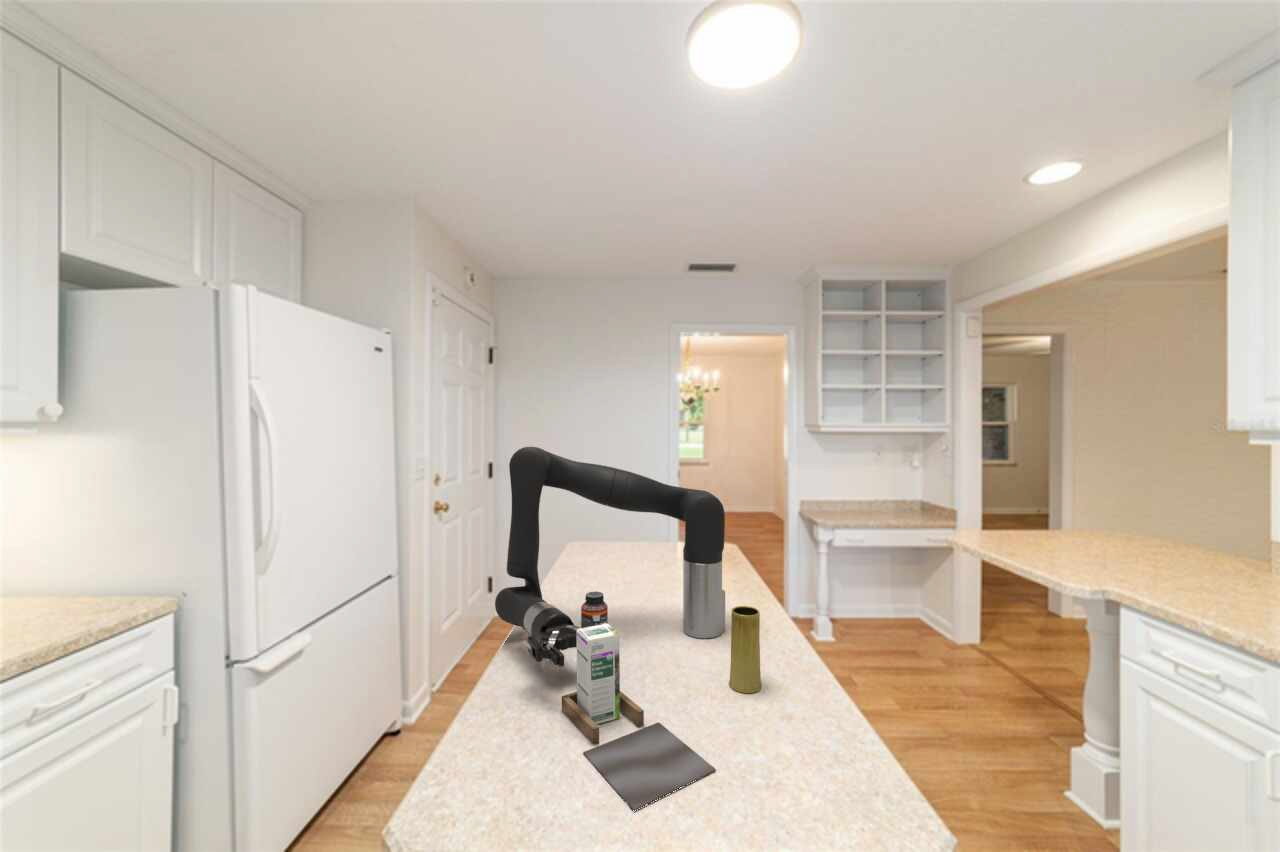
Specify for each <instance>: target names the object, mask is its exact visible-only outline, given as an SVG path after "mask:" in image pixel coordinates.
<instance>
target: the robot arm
mask: <svg viewBox="0 0 1280 852" xmlns="http://www.w3.org/2000/svg"><path fill="white" fill-rule="evenodd" d="M509 460H510V461H509V464H508V467H509V469H508V470H509V478H510V489H511V490H510V492H511V515H510V516H511V517H510V527H509V535H508V536H509V537H508V538H509V539H508V548H507V559H506V561H507V562H506V573H507V575H508V576H510V577H512V578H515V579H521V580H522V579H523V580H524V582H525V584H524V585H521V586H510V587H505V588H502V589H501V590H500V591H499V592H498V593H497V595H496V597H495V601H494V608H495V611H496V614H497V616H498V617H499V618H500V619H501V620H502V621H504V622H506V623H508V624H510V625H514V626H517V627H520V628H522V629H523V630H525V632H526V633H527V635H528V637H527V640H526V641H527V642H526V643H527V645H526V646H527V647H526V648H527V649H526V651H527V653H529V655H530V656H531V657H532V659H533V660H534V661H535V662H537V663H541V662H543V660H544V659H545V660H546V661H547V662H551V663H552V665H554V666H558V667H559V668H562V667H564V666H565V655H564V653H563V652H562V651H566V650H568V649H573V648H575V649H577V629H580V628H581V626H577V625H575V624H574V622H573V620H572V619H571V617H570V616H569V615H567V614H566V613H565V612H563V611H562V610H560V609H559V608H557V607H556V606H554V605H553V604H550V603H548V601H545V600H544V599H543V594H542V589H541V585H540V579H539V578H540V577H539V569H538V568H539V567H538V565H539V555H540V503H541V496H542V491H543V487H550V488H555V489H561V490H564V491H568V492H570V493H573V494H575V495H577V496H579V497H582V498H584V499H586V500H589V501H592V502H594V503H597V504H600V505H603V506H606V507H609V508H613V509H617V510H622V511H627V512H637V513H652V514H653V513H654V514H660V515H664V516H668V517H671V518H674V519H676V520H679V521H682V522H684V524H685V525H684V526H685V527H684V546H683V550H682V551H683V552H682V554H683V557H682V559H683V561H682V562H683V563H682V564H683V565H682V567H683V568H682V569H683V573H682V575H683V576H682V577H683V579H682V581H683V584H682V585H683V586H682V588H683V590H682V591H683V595H682V597H683V598H682V599H683V601H682V602H683V604H682V605H683V606H682V607H683V609H682V610H683V611H682V612H683V613H682V614H683V617H682V618H683V620H682V623H683V626H682V629H683V633H684V634H686V635H688V636H690V637H691V638H698V639H712V638H716V637H719V636H720V635H721V634H722V633H723V632H725V631H726V590H724V589H723V552H724V549H725V529H726V526H725V523H726V522H725V521H726V516H725V508H724V505H723V504H722V502H721V500H720V499H719V498H718V497H717V496H715V495H714V494H712V493H711V492H709V491H706V490H702V489H694V488H688V487H687V488H686V487H680V486H674V485H670V484H666V483H663V482H660V481H657V480H655V479H652V478H650V477H647V476H646V475H645V476H644V475H641V474H638V473H635V472H632V471H628V470H624V469H621V468H616V467H613V466H607V465H603V464H596V463H588V462H582V461H581V462H580V461H577V460H576V461H575V460H572V459H568V458H565V457H563V456H560V455H557V454H555V453H551V452H549V451H547V450H545V449H543V448H540V447H537V446H524V447H521V448H519V449H518V450H516V451H514V453H513V454H512V456H511V458H510V459H509ZM592 626H597V625H595V624H593V623H592V622H588V623H587V627H592ZM587 627H584V628H587Z"/></svg>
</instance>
